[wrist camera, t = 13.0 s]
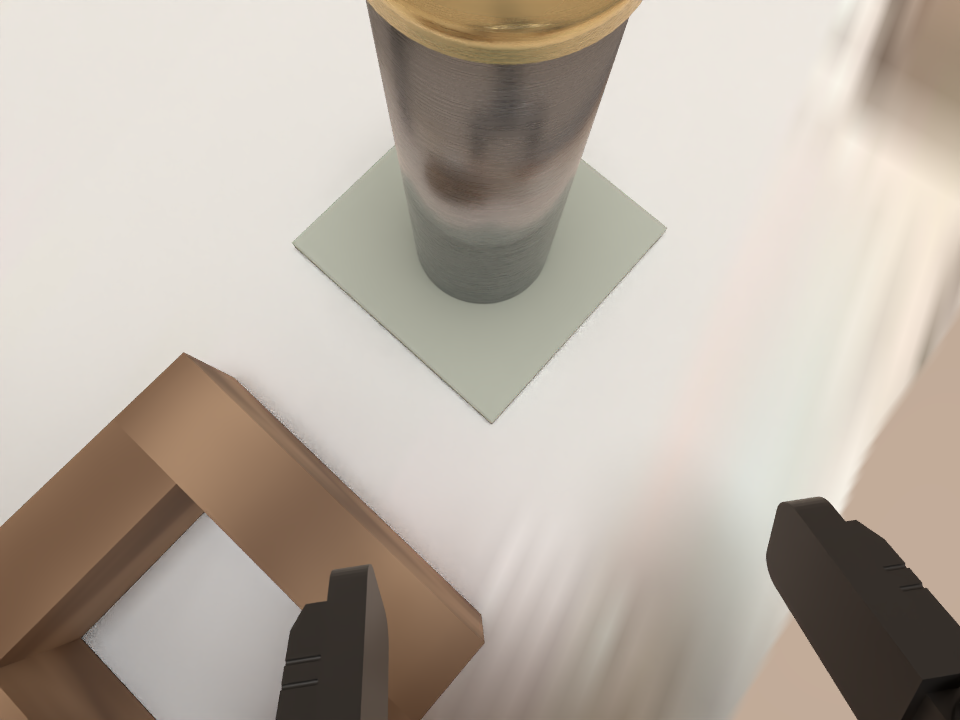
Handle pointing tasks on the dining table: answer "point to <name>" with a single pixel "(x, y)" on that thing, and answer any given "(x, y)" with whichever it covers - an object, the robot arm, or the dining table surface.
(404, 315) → the pad
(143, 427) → the housing
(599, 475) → the dining table surface
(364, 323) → the dining table surface
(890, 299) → the dining table surface
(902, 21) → the dining table surface
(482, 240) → the grey upright cylinder
